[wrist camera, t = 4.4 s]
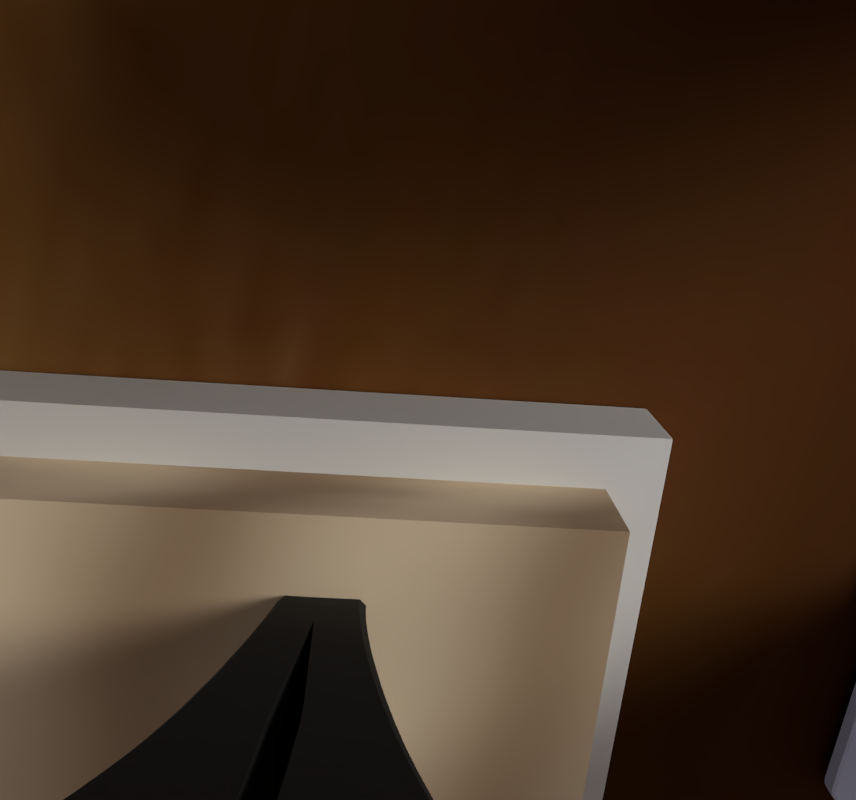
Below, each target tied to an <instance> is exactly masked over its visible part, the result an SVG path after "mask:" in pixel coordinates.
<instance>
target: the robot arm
mask: <svg viewBox="0 0 856 800" xmlns="http://www.w3.org/2000/svg"><path fill="white" fill-rule="evenodd" d="M825 785H826V787H827V789H828V791H829V792H830V794H831V795H832V797H833V798H834V800H856V683H855V686H854V689H853V692H852V695H851V699H850V702H849V705H848V708H847V711H846V714H845V717H844V720H843V723H842V726H841V729H840V732H839V735H838V739H837V742H836V745H835V748H834V751H833V754H832V757H831V760H830V763H829V766H828V769H827V772H826V775H825ZM63 800H433V798H432V796H431V794H430V793H429V791H428V789H427V787H426V785H425V783H424V782H423V780H422V778H421V776H420V774H419V773H418V771H417V769H416V767H415V765H414V763H413V761H412V759H411V757H410V755H409V753H408V751H407V749H406V746H405V744H404V742H403V740H402V738H401V735H400V733H399V731H398V728H397V726H396V724H395V721H394V719H393V716H392V714H391V711H390V709H389V706H388V703H387V701H386V698H385V695H384V692H383V689H382V686H381V683H380V680H379V676H378V673H377V670H376V666H375V663H374V660H373V656H372V652H371V647H370V642H369V637H368V631H367V624H366V605H365V604H364V603H363V602H362V601H361V600H360V599H341V598H320V597H301V596H286V595H285V596H284V597H282V598H281V599H280V600H279V601H278V602H277V603H276V604H275V606H274V607H273V608H272V609H271V611H270V612H269V613H268V615H267V616H266V617H265V618H264V620H263V621H262V622H261V623H260V625H259V626H258V627H257V628H256V629H255V630H254V632H253V633H252V634H251V635H250V636H249V638H248V639H247V640H246V641H245V642H244V643H243V644H242V646H241V647H240V648H239V649H238V650H237V651H236V652H235V653H234V654H233V655H232V657H231V658H230V659H229V660H228V661H227V662H226V663H225V664H224V665H223V666H222V668H221V669H220V670H219V671H218V672H217V673H216V674H215V675H214V676H213V677H212V678H211V679H210V680H209V681H208V682H207V683H206V684H205V685H204V686H203V687H202V688H201V689H200V690H199V691H198V692H197V693H196V694H195V695H194V696H193V697H192V698H191V699H190V700H188V701H187V702H186V703H185V704H184V705H183V706H182V707H181V708H180V709H179V710H178V711H177V712H176V713H175V714H174V715H172V716H171V717H170V718H169V719H168V720H167V721H166V722H165V723H164V724H162V725H161V726H160V727H159V728H158V729H157V730H155V731H154V732H153V733H152V734H151V735H149V736H148V737H147V738H146V739H145V740H143V741H142V742H141V743H140V744H139V745H137V746H136V747H135V748H134V749H132V750H131V751H130V752H129V753H127V754H126V755H125V756H123V757H122V758H121V759H119V760H118V761H117V762H115V763H114V764H113V765H111V766H110V767H109V768H107V769H106V770H105V771H103V772H102V773H101V774H99V775H98V776H96V777H95V778H94V779H92V780H91V781H89V782H88V783H86V784H85V785H84V786H82V787H81V788H79V789H78V790H77V791H75V792H74V793H72V794H71V795H69V796H68V797H66V798H65V799H63Z"/></svg>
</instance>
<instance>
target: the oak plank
mask: <svg viewBox="0 0 856 800" xmlns="http://www.w3.org/2000/svg"><path fill="white" fill-rule="evenodd" d="M629 535H630V531H629V529H628V527H627V526H626V524H625V522H624V520H623V519H622V517H621V515H620V513H619V512H618V510H617V508H616V506H615V505H614V503H613V501H612V499H611V498H610V496H609V494H608V492H607V491H606V489H594V488H576V487H557V486H539V485H521V484H503V483H484V482H466V481H448V480H430V479H412V478H393V477H375V476H357V475H339V474H320V473H302V472H284V471H266V470H248V469H229V468H211V467H193V466H175V465H156V464H138V463H120V462H102V461H83V460H65V459H47V458H29V457H11V456H0V800H63V799H65V798H66V797H68V796H69V795H71V794H72V793H74V792H75V791H77V790H78V789H79V788H81V787H82V786H84V785H85V784H86V783H88V782H89V781H91V780H92V779H94V778H95V777H96V776H98V775H99V774H101V773H102V772H103V771H105V770H106V769H107V768H109V767H110V766H111V765H113V764H114V763H115V762H117V761H118V760H119V759H121V758H122V757H123V756H125V755H126V754H127V753H129V752H130V751H131V750H132V749H134V748H135V747H136V746H137V745H139V744H140V743H141V742H142V741H143V740H145V739H146V738H147V737H148V736H149V735H151V734H152V733H153V732H154V731H155V730H157V729H158V728H159V727H160V726H161V725H162V724H164V723H165V722H166V721H167V720H168V719H169V718H170V717H171V716H172V715H174V714H175V713H176V712H177V711H178V710H179V709H180V708H181V707H182V706H183V705H184V704H185V703H186V702H187V701H188V700H190V699H191V698H192V697H193V696H194V695H195V694H196V693H197V692H198V691H199V690H200V689H201V688H202V687H203V686H204V685H205V684H206V683H207V682H208V681H209V680H210V679H211V678H212V677H213V676H214V675H215V674H216V673H217V672H218V671H219V670H220V669H221V668H222V666H223V665H224V664H225V663H226V662H227V661H228V660H229V659H230V658H231V657H232V655H233V654H234V653H235V652H236V651H237V650H238V649H239V648H240V647H241V646H242V644H243V643H244V642H245V641H246V640H247V639H248V638H249V636H250V635H251V634H252V633H253V632H254V630H255V629H256V628H257V627H258V626H259V625H260V623H261V622H262V621H263V620H264V618H265V617H266V616H267V615H268V613H269V612H270V611H271V609H272V608H273V607H274V606H275V604H276V603H277V602H278V601H279V600H280V599H281V598H282V597H284V596H285V595H286V596H301V597H320V598H341V599H360V600H361V601H362V602H363V603H364V604H365V605H366V624H367V631H368V637H369V642H370V647H371V652H372V656H373V660H374V663H375V666H376V670H377V673H378V676H379V680H380V683H381V686H382V689H383V692H384V695H385V698H386V701H387V703H388V706H389V709H390V711H391V714H392V716H393V719H394V721H395V724H396V726H397V728H398V731H399V733H400V735H401V738H402V740H403V742H404V744H405V746H406V749H407V751H408V753H409V755H410V757H411V759H412V761H413V763H414V765H415V767H416V769H417V771H418V773H419V774H420V776H421V778H422V780H423V782H424V783H425V785H426V787H427V789H428V791H429V793H430V794H431V796H432V798H433V800H583V794H584V789H585V783H586V777H587V772H588V766H589V760H590V755H591V749H592V743H593V738H594V732H595V727H596V721H597V715H598V710H599V704H600V698H601V693H602V687H603V682H604V676H605V670H606V665H607V659H608V653H609V648H610V642H611V636H612V631H613V625H614V620H615V614H616V608H617V603H618V597H619V591H620V586H621V580H622V575H623V569H624V563H625V558H626V552H627V546H628V541H629Z"/></svg>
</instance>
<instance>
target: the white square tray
mask: <svg viewBox="0 0 856 800" xmlns="http://www.w3.org/2000/svg"><path fill="white" fill-rule="evenodd" d="M672 441H673V439H672V438H671V436H670V435H669V434H668V433H667V432H666V431H665V430H664V428H663V427H662V426H661V425H660V424H659V423H658V422H657V421H656V419H655V418H654V417H653V416H652V415H651V414H650V413H649V411H648V410H647V409H642V408H625V407H608V406H591V405H575V404H558V403H541V402H524V401H507V400H490V399H473V398H456V397H440V396H423V395H406V394H389V393H372V392H355V391H338V390H321V389H305V388H288V387H271V386H254V385H237V384H220V383H203V382H186V381H170V380H153V379H136V378H119V377H102V376H85V375H68V374H52V373H35V372H18V371H1V370H0V456H11V457H29V458H47V459H65V460H83V461H102V462H120V463H138V464H156V465H175V466H193V467H211V468H229V469H248V470H266V471H284V472H302V473H320V474H339V475H357V476H375V477H393V478H412V479H430V480H448V481H466V482H484V483H503V484H521V485H539V486H557V487H576V488H594V489H606V491H607V492H608V494H609V496H610V498H611V499H612V501H613V503H614V505H615V506H616V508H617V510H618V512H619V513H620V515H621V517H622V519H623V520H624V522H625V524H626V526H627V527H628V529H629V531H630V535H629V541H628V546H627V552H626V558H625V563H624V569H623V575H622V580H621V586H620V591H619V597H618V603H617V608H616V614H615V620H614V625H613V631H612V636H611V642H610V648H609V653H608V659H607V665H606V670H605V676H604V682H603V687H602V693H601V698H600V704H599V710H598V715H597V721H596V727H595V732H594V738H593V743H592V749H591V755H590V760H589V766H588V772H587V777H586V783H585V789H584V794H583V800H603V795H604V789H605V784H606V779H607V774H608V769H609V764H610V759H611V754H612V748H613V743H614V738H615V733H616V728H617V723H618V718H619V713H620V707H621V702H622V697H623V692H624V687H625V682H626V677H627V672H628V666H629V661H630V656H631V651H632V646H633V641H634V636H635V631H636V625H637V620H638V615H639V610H640V605H641V600H642V595H643V590H644V584H645V579H646V574H647V569H648V564H649V559H650V554H651V549H652V543H653V538H654V533H655V528H656V523H657V518H658V513H659V508H660V502H661V497H662V492H663V487H664V482H665V477H666V472H667V467H668V461H669V456H670V451H671V446H672Z"/></svg>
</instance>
